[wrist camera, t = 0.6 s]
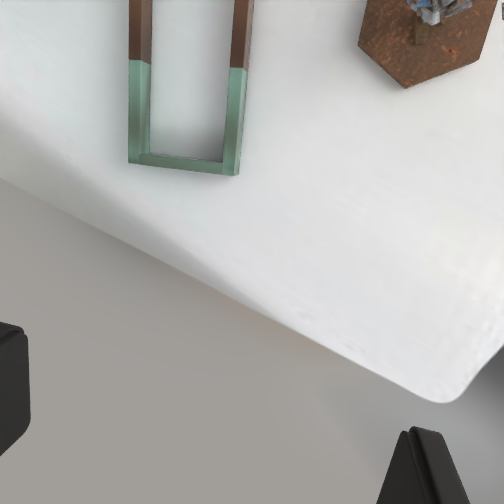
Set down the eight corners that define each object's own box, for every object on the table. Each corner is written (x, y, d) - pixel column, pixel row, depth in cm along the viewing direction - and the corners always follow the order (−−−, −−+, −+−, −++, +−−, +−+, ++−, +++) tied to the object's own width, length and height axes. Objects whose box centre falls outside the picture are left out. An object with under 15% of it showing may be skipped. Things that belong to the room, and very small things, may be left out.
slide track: (141, -146, 30) (129, -165, 28) (267, -147, 29) (263, -167, 27) (137, 162, 37) (127, 163, 36) (238, 174, 36) (233, 176, 34)
